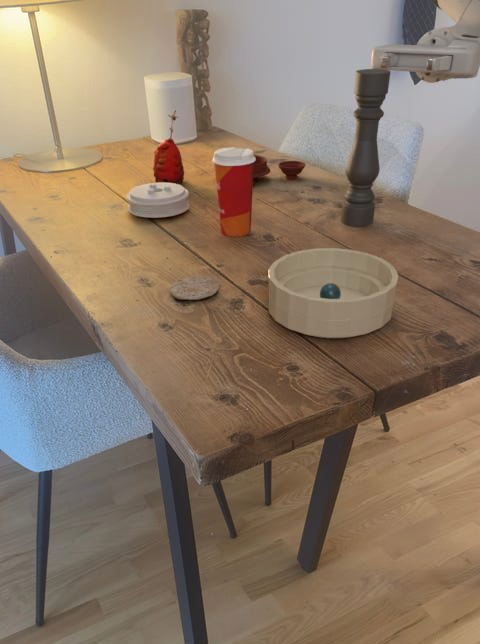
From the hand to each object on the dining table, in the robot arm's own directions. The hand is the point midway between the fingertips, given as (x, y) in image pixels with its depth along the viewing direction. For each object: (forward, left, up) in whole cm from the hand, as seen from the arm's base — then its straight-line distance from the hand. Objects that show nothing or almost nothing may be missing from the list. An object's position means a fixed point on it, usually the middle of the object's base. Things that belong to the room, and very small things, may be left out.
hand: (406, 63), depth 102 cm
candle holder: (+8, +10, -25) cm, 28 cm away
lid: (+48, +2, -25) cm, 54 cm away
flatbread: (+38, +40, -25) cm, 61 cm away
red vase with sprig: (+48, -19, -25) cm, 57 cm away
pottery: (+26, -20, -25) cm, 41 cm away
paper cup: (+32, +14, -25) cm, 43 cm away
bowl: (+18, +47, -25) cm, 56 cm away
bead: (+17, +46, -23) cm, 54 cm away
